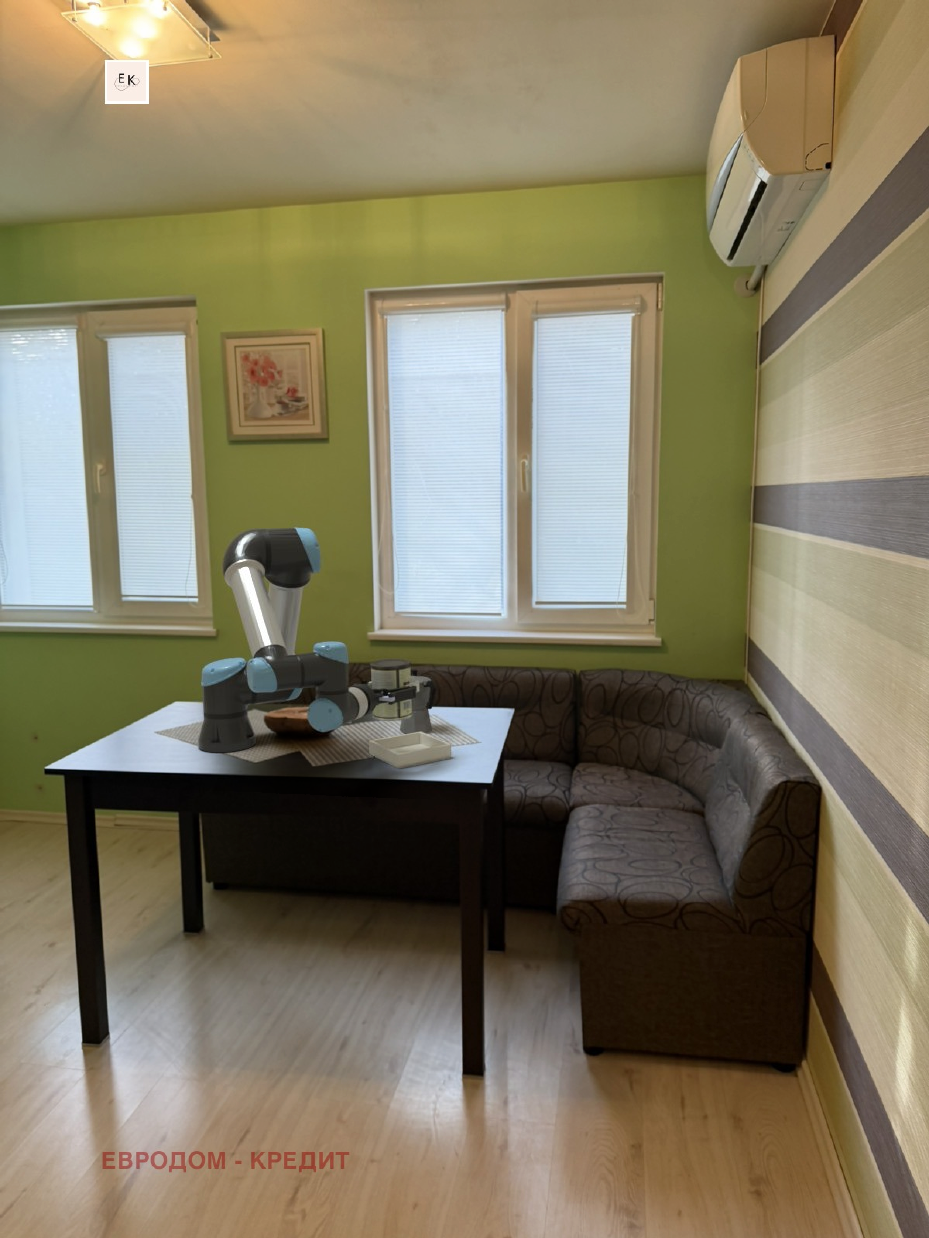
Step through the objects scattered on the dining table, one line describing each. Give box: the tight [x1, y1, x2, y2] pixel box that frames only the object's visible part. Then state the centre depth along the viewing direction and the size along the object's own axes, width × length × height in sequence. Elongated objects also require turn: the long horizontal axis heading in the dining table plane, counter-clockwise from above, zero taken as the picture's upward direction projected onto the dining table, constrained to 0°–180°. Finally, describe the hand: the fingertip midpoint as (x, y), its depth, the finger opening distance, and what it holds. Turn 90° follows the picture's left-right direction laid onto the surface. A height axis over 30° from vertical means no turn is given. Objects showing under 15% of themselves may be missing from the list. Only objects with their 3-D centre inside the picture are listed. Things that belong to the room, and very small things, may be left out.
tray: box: [368, 732, 452, 770], centre depth 220 cm, size 16×16×4 cm
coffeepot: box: [399, 668, 437, 735], centre depth 243 cm, size 15×9×18 cm, turn 43°
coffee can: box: [369, 658, 412, 722], centre depth 217 cm, size 10×10×14 cm
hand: (399, 684), depth 221 cm, fingers closed on coffee can, 10 cm apart
